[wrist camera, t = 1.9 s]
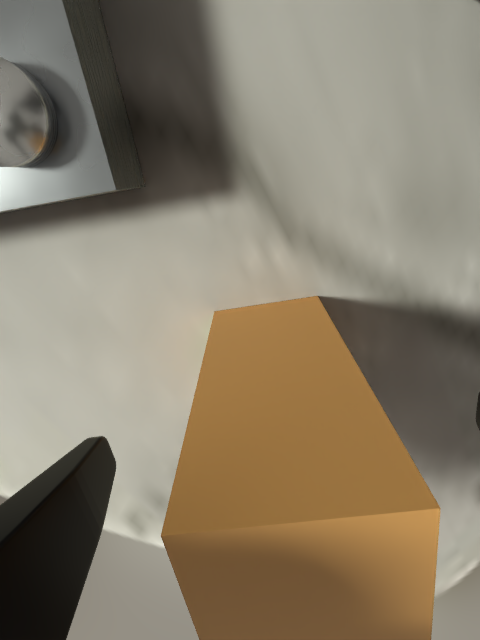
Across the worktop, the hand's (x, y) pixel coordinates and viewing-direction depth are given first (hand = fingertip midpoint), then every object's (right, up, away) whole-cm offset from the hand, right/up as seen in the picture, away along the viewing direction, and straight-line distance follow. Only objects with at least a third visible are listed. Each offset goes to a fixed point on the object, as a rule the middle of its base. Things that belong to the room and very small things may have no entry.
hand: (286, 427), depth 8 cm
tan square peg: (0, +2, +4) cm, 4 cm away
